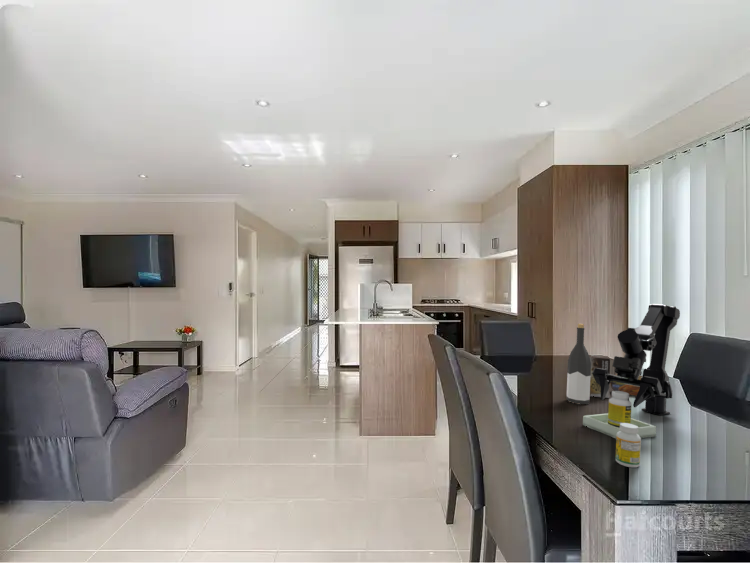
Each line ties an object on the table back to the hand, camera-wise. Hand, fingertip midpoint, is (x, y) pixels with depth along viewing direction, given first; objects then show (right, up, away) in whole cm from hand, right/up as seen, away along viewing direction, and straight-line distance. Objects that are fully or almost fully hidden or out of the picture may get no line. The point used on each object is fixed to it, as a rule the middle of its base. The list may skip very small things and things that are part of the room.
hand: (617, 402), depth 132 cm
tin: (+33, -10, +49) cm, 59 cm away
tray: (+1, -9, +1) cm, 9 cm away
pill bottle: (+1, -8, +1) cm, 8 cm away
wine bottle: (+3, -9, +33) cm, 34 cm away
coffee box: (+16, -10, +44) cm, 48 cm away
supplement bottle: (-11, -9, -24) cm, 28 cm away
